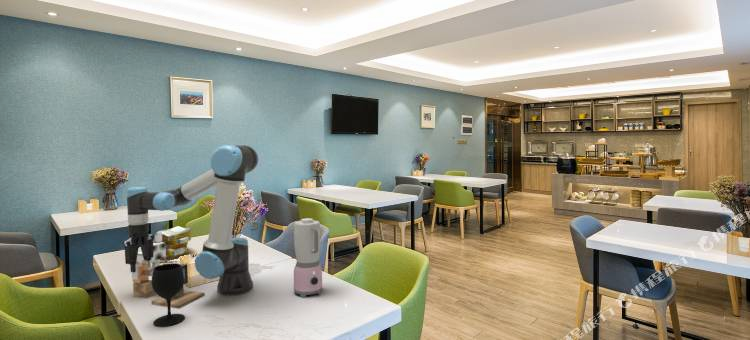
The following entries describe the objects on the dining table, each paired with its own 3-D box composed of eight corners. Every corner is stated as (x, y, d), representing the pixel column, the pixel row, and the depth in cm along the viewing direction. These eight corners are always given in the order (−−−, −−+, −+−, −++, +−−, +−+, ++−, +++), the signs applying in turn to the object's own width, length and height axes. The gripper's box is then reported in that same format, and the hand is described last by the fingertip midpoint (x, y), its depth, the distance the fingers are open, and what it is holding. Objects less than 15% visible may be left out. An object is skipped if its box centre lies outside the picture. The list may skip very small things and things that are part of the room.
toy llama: (145, 267, 210) (143, 229, 208) (166, 271, 202) (165, 233, 200) (130, 271, 203) (129, 232, 202) (152, 276, 195) (150, 236, 194)
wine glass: (177, 312, 152) (175, 261, 151) (190, 319, 145) (188, 266, 144) (148, 321, 144) (146, 267, 143) (160, 329, 137) (158, 273, 136)
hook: (177, 283, 167) (176, 266, 166) (169, 286, 163) (168, 270, 162) (141, 278, 173) (140, 263, 172) (132, 282, 168) (132, 266, 168)
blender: (289, 290, 174) (288, 218, 172) (314, 285, 181) (313, 215, 179) (303, 302, 161) (302, 224, 159) (330, 296, 168) (329, 221, 166)
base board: (204, 295, 169) (204, 292, 169) (179, 308, 156) (179, 305, 156) (178, 292, 173) (178, 289, 173) (151, 304, 160) (151, 301, 160)
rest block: (156, 293, 171) (155, 280, 171) (146, 298, 166) (145, 284, 166) (143, 292, 173) (143, 279, 173) (133, 296, 168) (132, 283, 168)
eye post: (188, 294, 168) (187, 264, 167) (173, 301, 160) (172, 269, 159) (183, 293, 169) (182, 263, 168) (168, 300, 161) (167, 269, 160)
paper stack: (204, 256, 230) (203, 227, 229) (158, 265, 212) (157, 235, 211) (185, 249, 247) (184, 222, 246) (141, 257, 228) (140, 228, 227)
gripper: (148, 219, 178) (150, 270, 179) (112, 226, 161) (115, 283, 163) (162, 220, 176) (164, 271, 177) (126, 227, 159) (129, 284, 160)
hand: (140, 277), depth 170 cm, fingers closed on hook, 4 cm apart
